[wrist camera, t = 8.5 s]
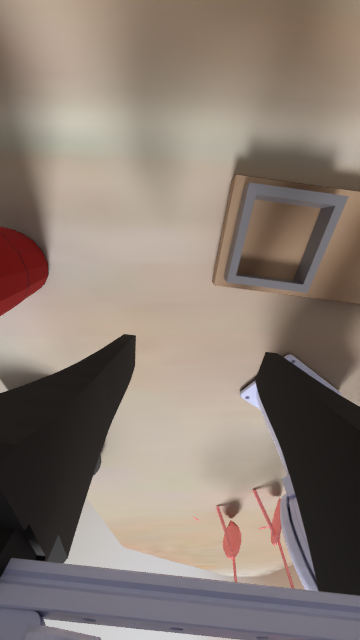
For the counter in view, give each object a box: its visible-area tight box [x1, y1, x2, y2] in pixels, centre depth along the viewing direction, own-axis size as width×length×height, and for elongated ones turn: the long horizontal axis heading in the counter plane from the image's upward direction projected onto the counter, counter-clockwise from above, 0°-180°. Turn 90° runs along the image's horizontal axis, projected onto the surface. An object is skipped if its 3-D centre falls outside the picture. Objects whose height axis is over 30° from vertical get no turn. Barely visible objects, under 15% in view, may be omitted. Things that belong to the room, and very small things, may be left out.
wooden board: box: [212, 175, 360, 304], centre depth 16 cm, size 23×8×2 cm, turn 83°
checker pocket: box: [224, 183, 349, 293], centre depth 14 cm, size 7×7×2 cm
